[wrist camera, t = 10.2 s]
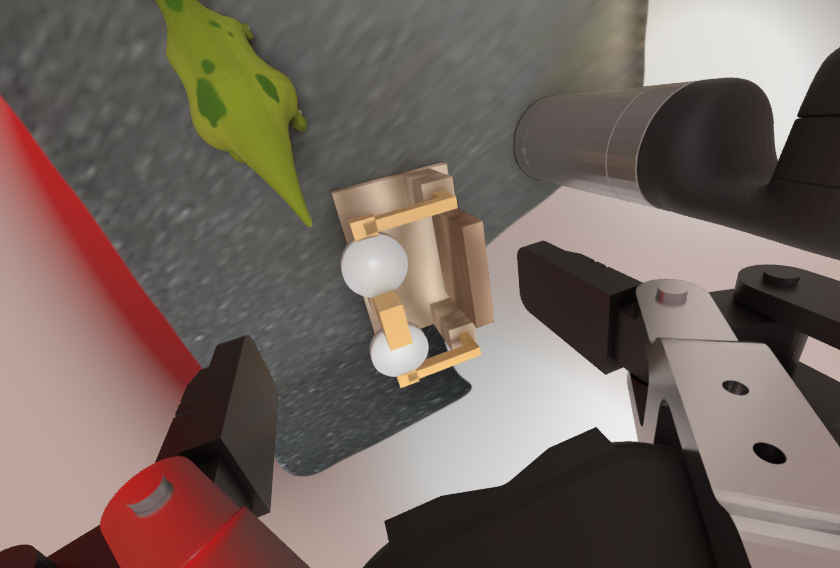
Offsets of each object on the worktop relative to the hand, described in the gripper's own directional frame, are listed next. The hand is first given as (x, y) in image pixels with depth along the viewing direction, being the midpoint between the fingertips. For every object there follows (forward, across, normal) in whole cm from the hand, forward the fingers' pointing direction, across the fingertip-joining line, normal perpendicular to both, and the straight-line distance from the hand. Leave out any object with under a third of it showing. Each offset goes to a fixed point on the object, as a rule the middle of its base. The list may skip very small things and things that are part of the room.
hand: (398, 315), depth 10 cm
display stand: (+30, -6, +11) cm, 33 cm away
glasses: (+22, -4, +11) cm, 25 cm away
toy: (+30, +5, -9) cm, 32 cm away
